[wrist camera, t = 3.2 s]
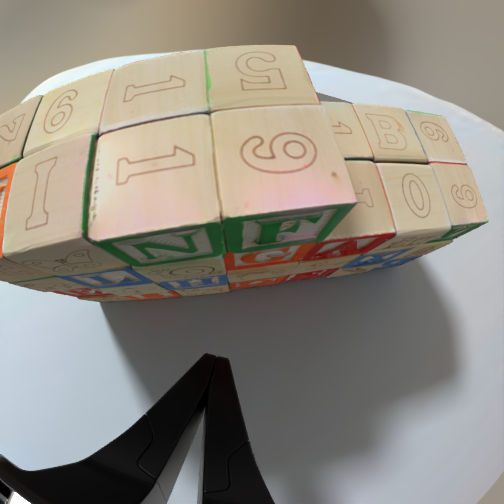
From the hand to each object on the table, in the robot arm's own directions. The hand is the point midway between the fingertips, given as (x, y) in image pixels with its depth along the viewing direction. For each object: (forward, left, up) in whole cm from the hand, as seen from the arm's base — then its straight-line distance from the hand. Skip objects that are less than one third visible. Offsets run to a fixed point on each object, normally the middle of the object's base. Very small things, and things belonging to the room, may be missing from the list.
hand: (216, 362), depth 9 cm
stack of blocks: (+7, 0, -7) cm, 10 cm away
